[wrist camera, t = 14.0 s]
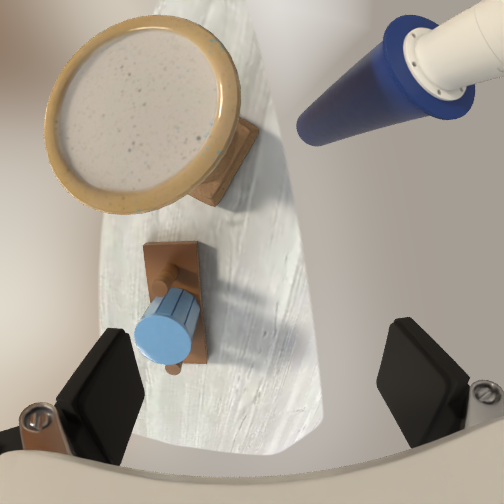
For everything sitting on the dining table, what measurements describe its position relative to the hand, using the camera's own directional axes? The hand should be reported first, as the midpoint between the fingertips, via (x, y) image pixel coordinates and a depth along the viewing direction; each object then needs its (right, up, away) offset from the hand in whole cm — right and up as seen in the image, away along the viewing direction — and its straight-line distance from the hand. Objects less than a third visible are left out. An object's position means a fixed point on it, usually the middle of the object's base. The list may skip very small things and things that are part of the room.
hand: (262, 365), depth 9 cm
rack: (-11, -4, +30) cm, 32 cm away
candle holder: (-7, +17, +25) cm, 30 cm away
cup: (-11, -4, +28) cm, 30 cm away
